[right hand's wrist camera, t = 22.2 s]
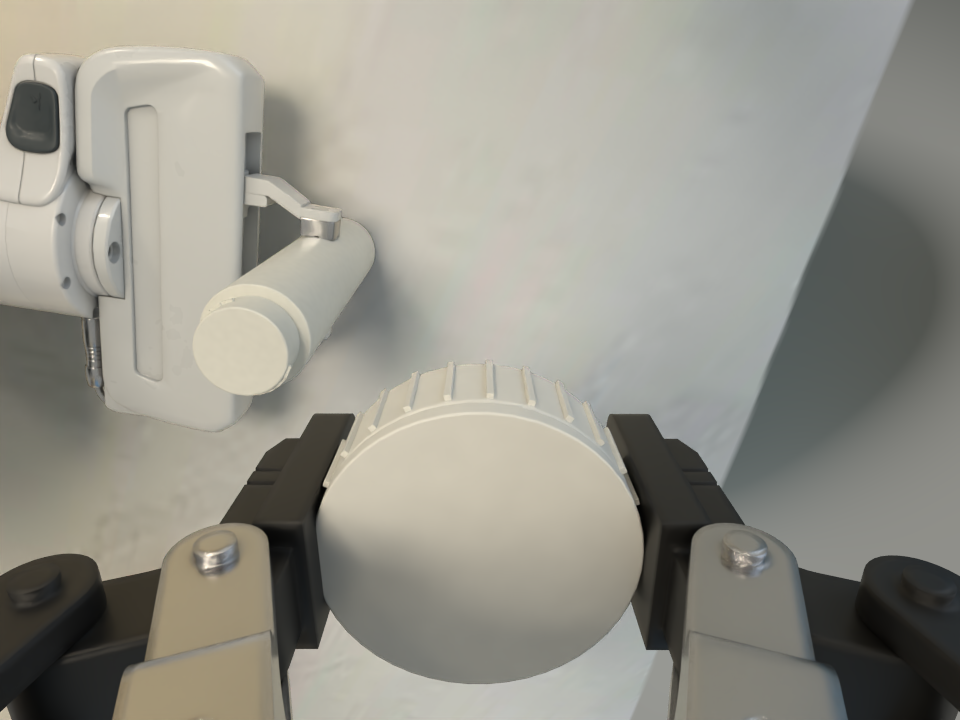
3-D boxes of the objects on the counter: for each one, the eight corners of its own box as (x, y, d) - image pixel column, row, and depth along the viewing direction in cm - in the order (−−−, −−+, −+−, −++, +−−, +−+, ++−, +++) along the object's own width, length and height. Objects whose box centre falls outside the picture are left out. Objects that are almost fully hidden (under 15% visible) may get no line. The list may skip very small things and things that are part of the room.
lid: (643, 367, 10) (679, 419, 8) (600, 611, 12) (621, 696, 10) (331, 347, 10) (300, 395, 8) (337, 597, 12) (312, 681, 10)
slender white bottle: (299, 265, 40) (164, 377, 22) (323, 205, 38) (201, 274, 21) (359, 293, 41) (276, 424, 23) (385, 236, 39) (318, 327, 22)
